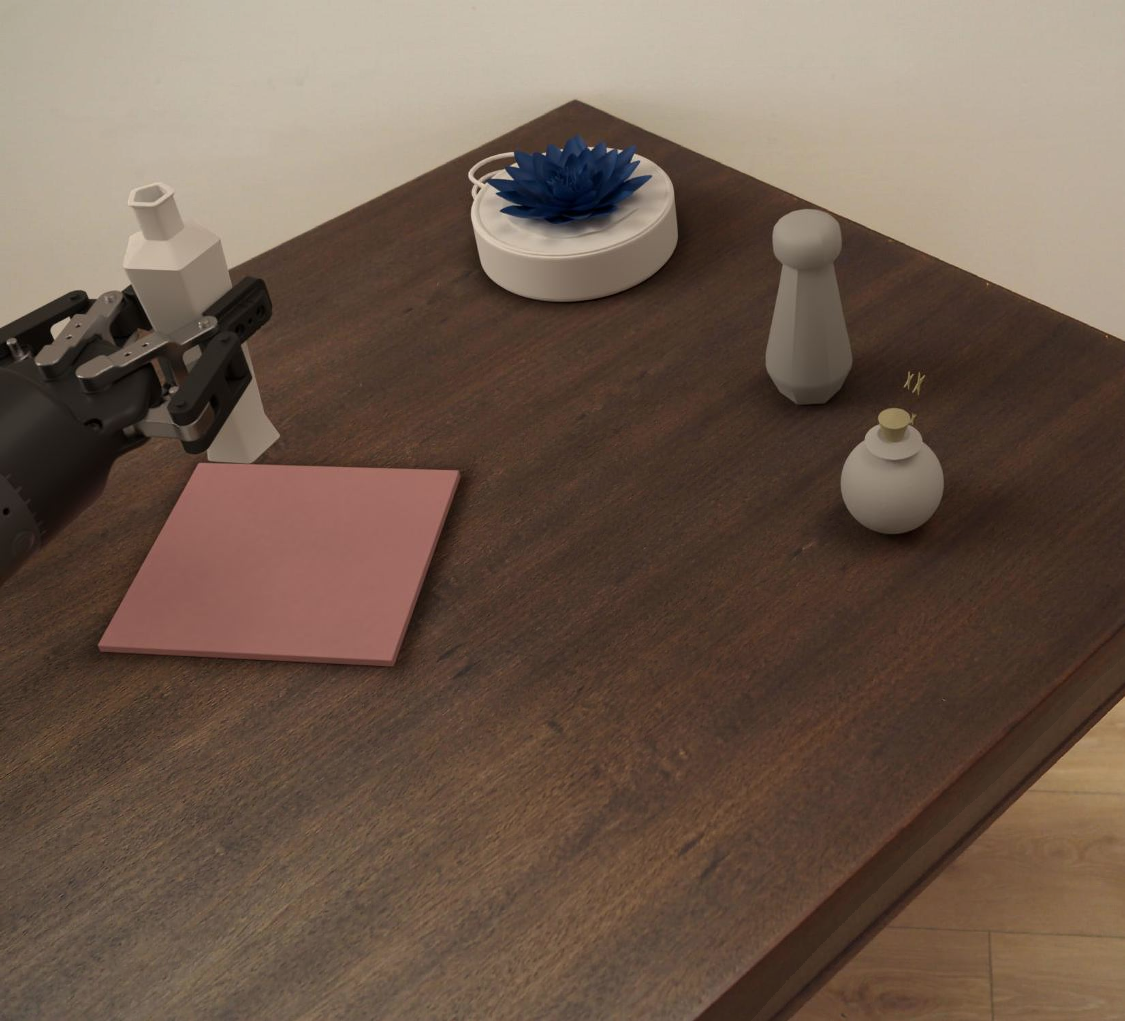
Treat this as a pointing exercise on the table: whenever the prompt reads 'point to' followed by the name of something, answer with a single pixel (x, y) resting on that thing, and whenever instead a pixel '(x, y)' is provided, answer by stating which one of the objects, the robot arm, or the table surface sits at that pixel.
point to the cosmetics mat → (287, 564)
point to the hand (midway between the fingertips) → (222, 282)
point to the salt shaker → (808, 310)
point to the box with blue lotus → (573, 221)
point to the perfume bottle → (190, 302)
